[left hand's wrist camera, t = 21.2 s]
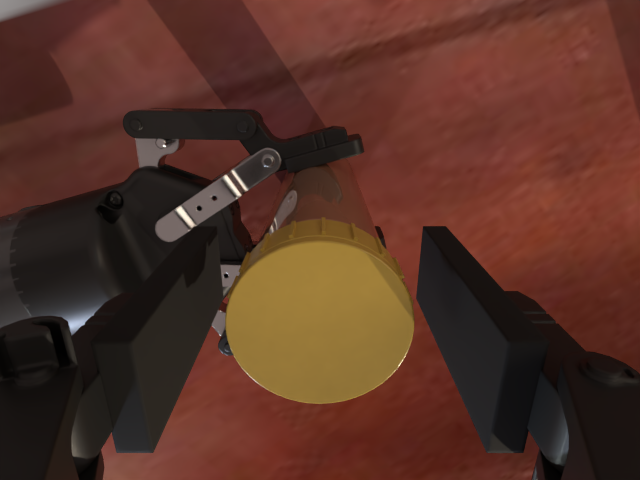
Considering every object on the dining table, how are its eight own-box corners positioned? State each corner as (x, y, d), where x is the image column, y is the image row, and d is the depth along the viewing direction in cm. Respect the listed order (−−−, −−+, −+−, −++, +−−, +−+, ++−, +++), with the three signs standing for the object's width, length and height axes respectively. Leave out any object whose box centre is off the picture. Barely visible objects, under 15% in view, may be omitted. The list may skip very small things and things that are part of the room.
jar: (278, 154, 26) (215, 256, 10) (345, 138, 25) (387, 219, 10) (295, 218, 27) (263, 393, 12) (359, 204, 27) (413, 364, 11)
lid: (420, 227, 11) (438, 250, 9) (388, 374, 13) (397, 414, 11) (240, 206, 11) (226, 225, 9) (231, 358, 12) (219, 397, 11)
